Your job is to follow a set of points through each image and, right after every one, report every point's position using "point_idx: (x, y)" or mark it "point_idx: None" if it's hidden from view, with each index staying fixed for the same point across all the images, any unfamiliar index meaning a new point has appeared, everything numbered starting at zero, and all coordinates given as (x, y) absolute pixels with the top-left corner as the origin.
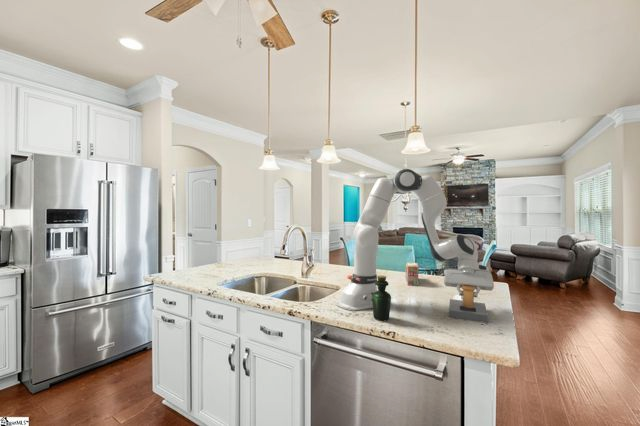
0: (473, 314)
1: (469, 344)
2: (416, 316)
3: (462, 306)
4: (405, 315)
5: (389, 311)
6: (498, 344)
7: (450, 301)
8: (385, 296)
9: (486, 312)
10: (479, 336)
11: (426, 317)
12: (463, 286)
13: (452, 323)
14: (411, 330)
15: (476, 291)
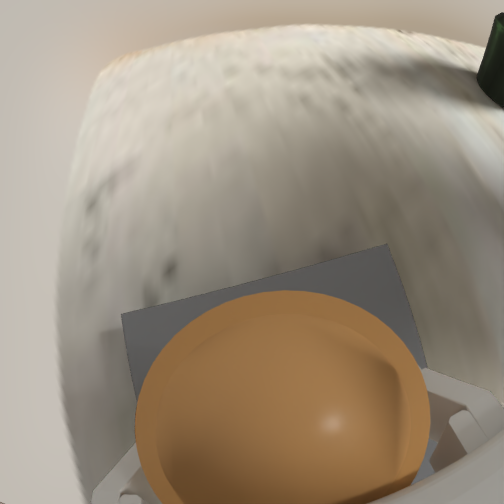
0: (216, 292)
1: (199, 54)
2: (470, 161)
3: None
4: (494, 149)
5: (492, 71)
6: (116, 104)
7: None
8: (501, 13)
9: (138, 382)
10: (172, 114)
11: (442, 174)
12: (376, 324)
13: (313, 170)
14: (382, 48)
15: None
